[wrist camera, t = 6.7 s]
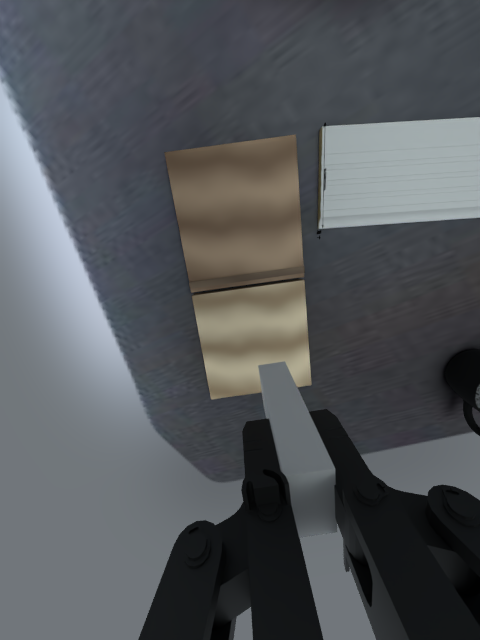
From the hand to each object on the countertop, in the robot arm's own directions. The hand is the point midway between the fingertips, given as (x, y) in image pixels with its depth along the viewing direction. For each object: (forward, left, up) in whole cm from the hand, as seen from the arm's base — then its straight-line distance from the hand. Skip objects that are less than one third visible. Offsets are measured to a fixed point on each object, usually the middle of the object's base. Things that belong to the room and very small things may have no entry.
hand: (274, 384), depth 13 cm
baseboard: (-12, +26, -20) cm, 35 cm away
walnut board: (-11, 0, -19) cm, 22 cm away
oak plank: (+4, 0, -19) cm, 19 cm away
